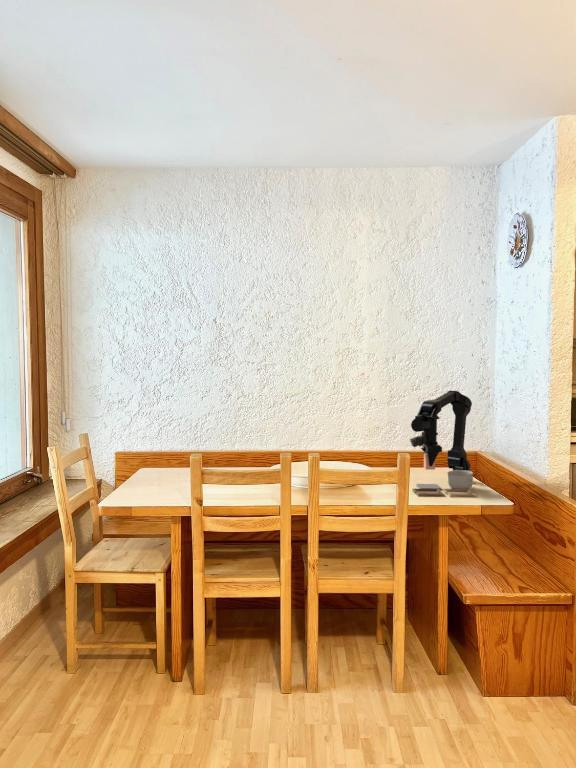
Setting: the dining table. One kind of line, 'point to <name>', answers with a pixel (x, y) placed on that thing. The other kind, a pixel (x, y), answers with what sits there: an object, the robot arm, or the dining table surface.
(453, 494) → the oak tray
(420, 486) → the slate tile
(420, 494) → the walnut tray
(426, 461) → the letter block
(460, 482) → the teacup
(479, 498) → the dining table surface
